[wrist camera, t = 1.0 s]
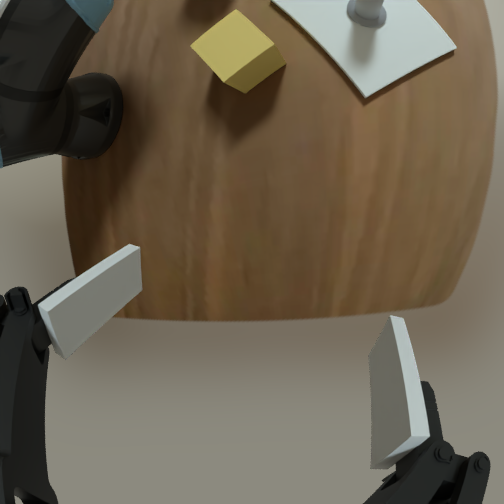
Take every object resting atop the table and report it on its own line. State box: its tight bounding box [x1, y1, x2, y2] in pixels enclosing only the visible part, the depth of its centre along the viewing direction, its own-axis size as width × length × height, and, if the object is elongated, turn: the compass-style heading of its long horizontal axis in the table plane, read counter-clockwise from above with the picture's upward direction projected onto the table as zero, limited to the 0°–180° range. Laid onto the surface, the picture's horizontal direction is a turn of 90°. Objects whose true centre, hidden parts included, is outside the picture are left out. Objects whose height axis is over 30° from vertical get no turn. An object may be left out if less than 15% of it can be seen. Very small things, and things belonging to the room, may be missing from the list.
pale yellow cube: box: [190, 9, 286, 93], centre depth 24 cm, size 6×6×7 cm
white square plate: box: [271, 0, 457, 98], centre depth 17 cm, size 18×16×9 cm
